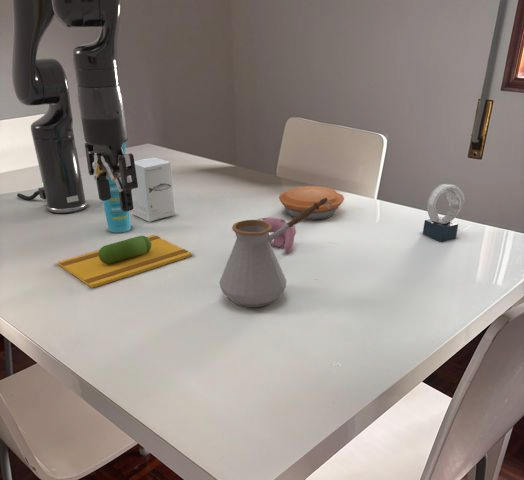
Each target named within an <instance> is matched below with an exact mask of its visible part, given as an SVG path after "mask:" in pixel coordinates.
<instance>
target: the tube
mask: <svg viewBox="0 0 524 480" xmlns="http://www.w3.org/2000/svg"><path fill="white" fill-rule="evenodd" d="M122 149H123V152H124V154H126V142H124V143H123V144H122ZM106 179H108V180H109V186H110V193H111V199H109V200H105V201H102V203H103V208H104V213H105V217H106V225H107V229H108V231H109V232H111V233H117V234H118V233H125V232H128V231H130V230H131V228H132V225H131V214H130V211H126V212H124V211H122V210H121V206H120V198H119V190H118V188H117V185H116V183H115V181H112V180H111V178H110V176H109V175H108V178H106ZM120 181H121V179H120ZM121 183H122V181H121Z"/></svg>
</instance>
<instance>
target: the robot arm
mask: <svg viewBox="0 0 524 480" xmlns="http://www.w3.org/2000/svg"><path fill="white" fill-rule="evenodd" d="M11 4H12V5H11V7H12V24H13V25H12V31H13V32H12V51H11V79H12V80H11V81H12V82H11V83H12V87H13V91H14V94H15V97H16V98H17V100H18V101H19V103H20V104H22V105H23V106H27V107H37V106H39V107H40V106H46V105H47V106H48V108H47V111H46V112H45V113H44V115H42V116H41V117H40V118H38V119H36V120H35V121H33V122H32V123H31V124H30V133H31V136H32V141H33V146H34V150H35V154H36V160H37V165H38V169H39V174H40V178H41V183H42V187H38V189H37V190H36V191H35V192H33V193H32V194H31V195H25V194H23V193H17V194H16V196H17V198H20V199H23V200H25V201H32V200H35V199H36V198H37V197H38V196H39V198H40V199H42V200H45V201H46V208H47V211H49V212H50V213H55V214H69V213H74V212H78V211H81V210H84V209H85V208H87V205H88V204H87V200H86V196H85V190H84V184H83V177H82V173H81V167H80V161H79V156H78V151H77V146H76V140H75V139H76V138H75V134H74V130H73V129H74V128H73V125H74V122H73V113H72V106H71V97H70V90H69V82H68V78H67V73H66V71H65V69H64V67H63V64H62V63H61V62H60V61H59V60H58V59H57V58H54V57H53V58H52V57H46V58H45V57H43V58H37V55H38V49H39V46H40V43H41V41H42V38H43V37H44V35H45V33H46V32H47V31H48V29H49V27H50V26H51V24H52V22H53V21H54V19H55V18H56V19H57V20H58V21H59V22H60V24H62V25H64V27H67V28H69V29H70V28H71V29H85V28H87V29H88V28H90V29H91V28H93V29H94V28H100V32H99V35H98V37H97V38H96V39H95V40H94V41H91V42H89V43H84V44H81V45H78V46H76V47H75V48H74V49H73V50H72V61H73V66H74V73H75V79H76V84H77V100H78V108H79V113H80V120H81V125H82V126H81V127H82V132H83V136H84V137H83V139H84V141H85V142H84V149H85V157H86V164H87V171H88V174H89V176H93V180H94V181H95V182H96V188H97V195H98V199H99V200H100V201H102V202H103V201H105V200H109V199H111V193H110V186H109V180H108V179H106V178H108V175H109V176H110V178H111V180H112V181H115V183H116V185H117V188H118V190H119V198H120V206H121V210H122V211H124V212H126V211H129V212H130V211H134V209H133V200H132V192H131V190H132V189H135V188H138V183H137V176H136V169H135V163H134V161H135V157H134V154H133V153H125V154H124V152H123V149H122V144H123V143H124V142H125V143H126V142H127V141H128V140H129V133H128V125H127V119H126V116H127V115H126V108H125V101H124V96H123V92H122V86H121V81H120V74H119V65H118V54H117V53H118V36H119V28H120V21H121V15H122V0H11ZM130 175H131V180H132V182H131V180H130V177H129V176H130ZM120 179H121V181H122V183H121V181H120Z"/></svg>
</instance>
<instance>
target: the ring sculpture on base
mask: <svg viewBox="0 0 524 480" xmlns="http://www.w3.org/2000/svg"><path fill="white" fill-rule="evenodd" d="M441 195H443V196H444V198H445V200H446V201H447V202H448V207H450V208H449V209H448V211H447V213H446V214H445V215H443V217H442V216H439V213H438V209H437V201H438V199H439V197H440V196H441ZM465 202H466V196H465V195H464V193H463V191H462V189H460V187H458V186H457V185H455V184H452V183H450V184H448V183H441V184H439V185H437V186H436V187H434V189H433V190H432V191H431V192H430V195H429V197H428V199H427V204H426V211H427V214H428V217H429V218H428V219H424V223H423V230H422V235H424V236H426V237H429V238H430V239H432V240H435V241H437V242H440V243H442V242H447V241H451V240H455V239H456V238H457V233H458V229H459V223H456V222H454V221H453V220H454V219H455V218H456V217H457V216H458V215H459V212H460V211H461V210H462V208H463V205H464V203H465Z"/></svg>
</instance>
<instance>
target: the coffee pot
mask: <svg viewBox="0 0 524 480" xmlns="http://www.w3.org/2000/svg"><path fill="white" fill-rule="evenodd" d="M326 201H328V202H329V203H330V201H329V200H328V199H327V198H324V199H322V200H320V202H318V203H314V205H313V206H312V207H310V208H308V209H306V210H304V211H302V212H301V213H300V214H299V215H297V216H296V217H293V218H292V219H291V220H290V221H288V223H287V224H286V225H285V226H283V227H282V228H280V229H279V230H277V231H276V232H272V233H271V234H269V235H270V236H268V233H270V232H269V231H270V230H271V228H272V226H271V224H270V223H268V222H266V221H261V220H257V219H246V220H240V221H237V222H235V223H233V224H232V227H231V228H232V231H233V232H234V234H235V237H236V239H235V242H234V245H233V247H232V250H231V252H230V254H229V257H228V260H227V261H226V264H225V267H224V270H223V272H222V275H221V278H220V279H219V287H220V289H221V292H222V293H223V294H224V295H225V296H226V297H227V298H228V299H229V300H231V301H232V302H233V304H236V305H238V306H241V307H245V308H261V307H265V306H268V305H271V304H272V303H273V302H274V301H275V300H276V299H278V298H280V296H281V295H282V294H283V293H284V292H285V289H286V287H287V282H288V281H287V278H286V277H285V274H284V272H283V269H282V267H281V264H280V263H279V260H278V257H277V256H276V254H275V252H274V249H273V247H272V244H271V242H272V241H274V239H275V238H276V237H277V236H279V235H280V234H281V233H283V232H284V231H286V230H287V229H288V228H290V227H292V226H294V227H295V225H297V224H299V223H300V222H302V221H304V220H306V219H305V218H306V217H308V216H309V215H310V214H311V213H312V212H313V211H314V210H315V209H317V210H318V209H319V207H320V206H321V205H323V204H324V205H325V206H326V207H327V208H329V207H328V206H327V205H326V204H325V203H326ZM330 205H331V203H330ZM331 208H332V205H331ZM329 209H330V208H329Z"/></svg>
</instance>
